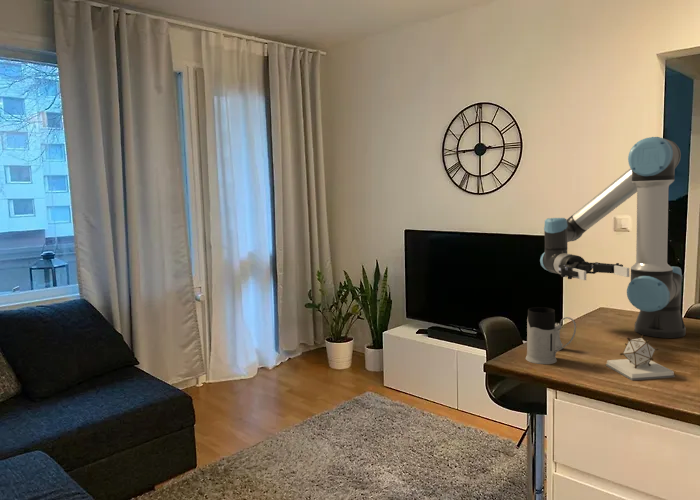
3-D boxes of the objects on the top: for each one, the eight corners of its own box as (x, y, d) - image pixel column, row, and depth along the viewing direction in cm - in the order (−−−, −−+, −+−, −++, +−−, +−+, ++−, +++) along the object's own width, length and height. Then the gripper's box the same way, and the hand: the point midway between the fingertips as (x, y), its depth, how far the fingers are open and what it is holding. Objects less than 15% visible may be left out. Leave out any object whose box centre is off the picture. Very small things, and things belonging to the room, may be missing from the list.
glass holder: (532, 353, 167) (532, 305, 166) (580, 361, 159) (580, 310, 157) (520, 360, 161) (521, 311, 159) (570, 369, 152) (571, 317, 150)
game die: (645, 380, 147) (666, 358, 141) (614, 368, 149) (632, 346, 142) (644, 356, 154) (663, 334, 147) (614, 345, 155) (631, 322, 148)
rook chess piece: (545, 347, 173) (545, 322, 172) (559, 346, 174) (559, 321, 173) (551, 351, 169) (551, 326, 168) (565, 350, 169) (565, 325, 168)
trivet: (645, 362, 155) (645, 357, 155) (674, 377, 143) (674, 371, 143) (605, 365, 154) (605, 360, 154) (631, 380, 142) (631, 374, 142)
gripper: (605, 274, 185) (645, 283, 164) (535, 279, 182) (567, 289, 161) (605, 252, 184) (645, 258, 163) (534, 256, 181) (566, 264, 160)
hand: (606, 274), depth 162 cm, fingers open, 13 cm apart
